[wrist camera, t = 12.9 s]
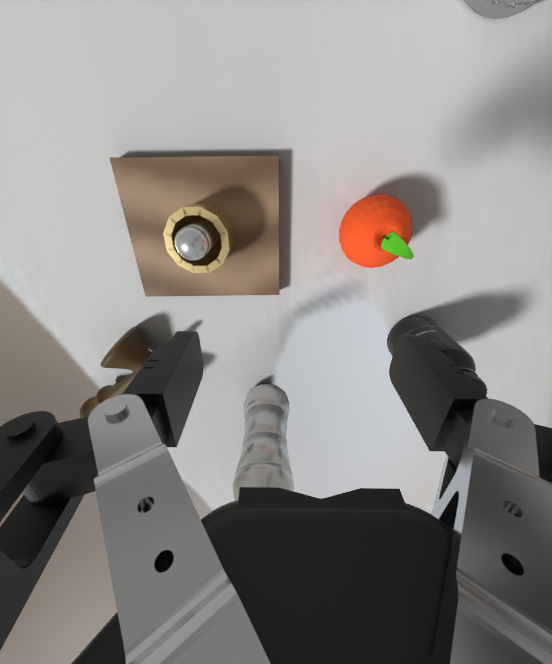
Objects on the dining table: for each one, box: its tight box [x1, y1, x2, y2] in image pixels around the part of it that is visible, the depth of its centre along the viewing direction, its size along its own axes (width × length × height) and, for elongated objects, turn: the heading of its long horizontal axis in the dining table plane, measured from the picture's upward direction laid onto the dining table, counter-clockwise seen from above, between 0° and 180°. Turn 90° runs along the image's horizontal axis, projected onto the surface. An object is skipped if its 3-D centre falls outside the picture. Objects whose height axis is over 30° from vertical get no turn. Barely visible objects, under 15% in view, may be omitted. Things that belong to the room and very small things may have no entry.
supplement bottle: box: [387, 316, 487, 396], centre depth 32 cm, size 7×7×12 cm
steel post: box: [175, 219, 219, 261], centre depth 26 cm, size 3×3×6 cm
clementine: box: [339, 194, 413, 268], centre depth 27 cm, size 8×7×7 cm
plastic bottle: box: [233, 384, 294, 501], centre depth 33 cm, size 6×7×20 cm
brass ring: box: [163, 204, 235, 273], centre depth 27 cm, size 6×6×4 cm
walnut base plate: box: [110, 156, 279, 296], centre depth 30 cm, size 14×16×2 cm
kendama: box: [80, 327, 170, 418], centre depth 37 cm, size 6×10×20 cm
